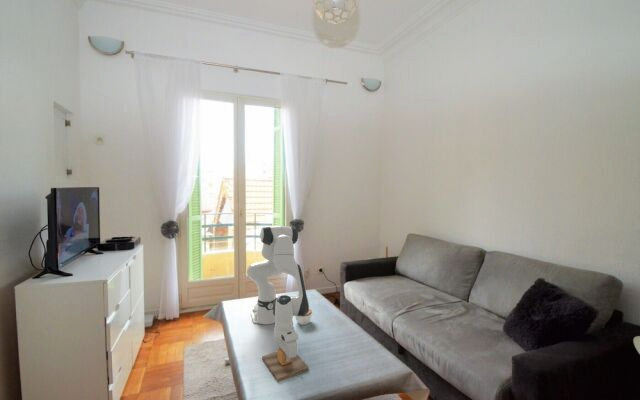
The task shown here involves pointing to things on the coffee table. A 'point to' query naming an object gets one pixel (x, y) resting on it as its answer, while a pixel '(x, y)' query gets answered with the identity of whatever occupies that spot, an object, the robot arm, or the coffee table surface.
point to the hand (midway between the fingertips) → (284, 357)
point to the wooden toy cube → (282, 357)
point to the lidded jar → (304, 318)
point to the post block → (284, 366)
